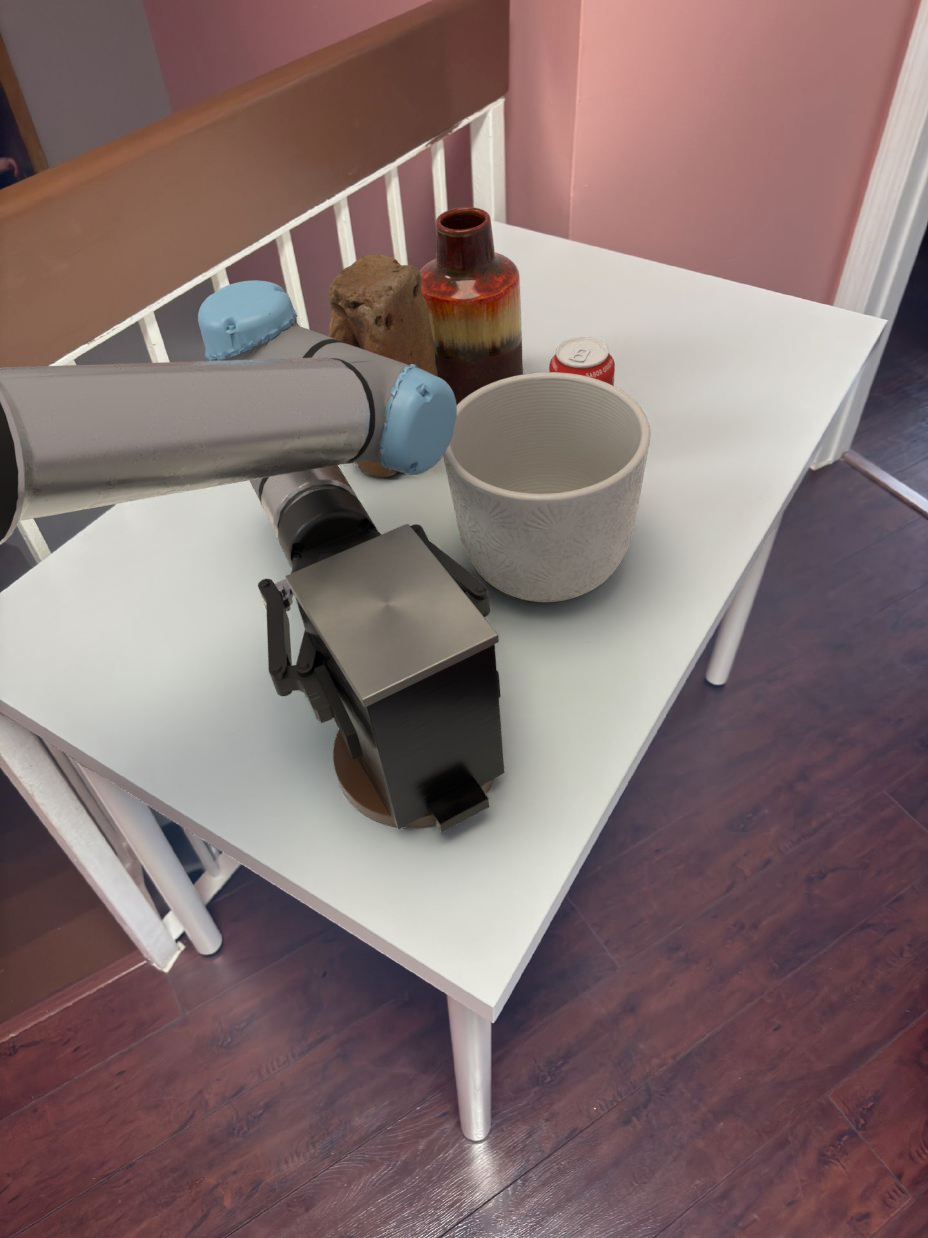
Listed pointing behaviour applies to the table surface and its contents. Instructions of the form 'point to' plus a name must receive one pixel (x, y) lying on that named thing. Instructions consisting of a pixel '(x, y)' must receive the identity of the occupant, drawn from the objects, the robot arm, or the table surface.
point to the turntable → (368, 788)
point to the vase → (472, 304)
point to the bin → (408, 674)
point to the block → (382, 317)
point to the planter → (547, 482)
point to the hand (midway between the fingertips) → (426, 716)
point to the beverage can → (584, 359)
